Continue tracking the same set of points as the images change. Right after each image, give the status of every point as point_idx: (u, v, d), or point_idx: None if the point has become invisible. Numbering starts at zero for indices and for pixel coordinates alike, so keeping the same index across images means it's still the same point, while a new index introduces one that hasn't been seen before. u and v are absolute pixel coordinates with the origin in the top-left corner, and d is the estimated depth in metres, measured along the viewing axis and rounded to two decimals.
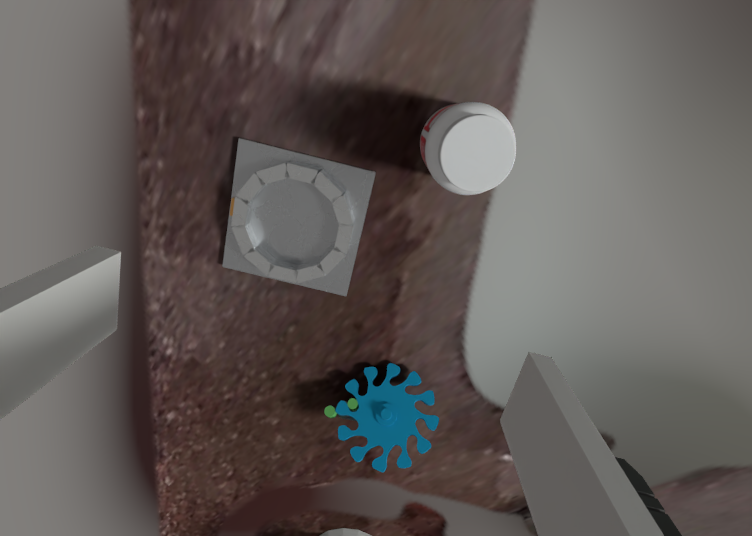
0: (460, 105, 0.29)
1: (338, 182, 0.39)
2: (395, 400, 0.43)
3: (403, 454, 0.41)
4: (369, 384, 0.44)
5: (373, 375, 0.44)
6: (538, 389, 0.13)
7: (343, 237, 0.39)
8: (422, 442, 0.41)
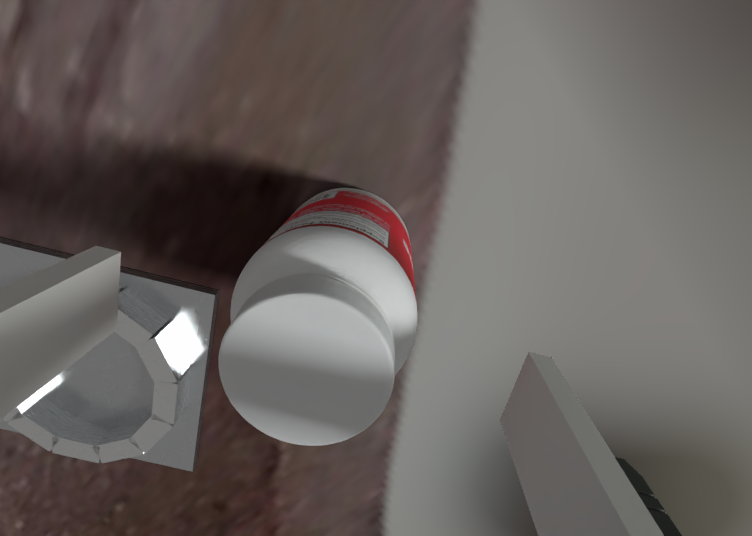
0: (290, 238, 0.13)
1: (155, 309, 0.23)
2: None
3: None
4: None
5: None
6: (539, 389, 0.13)
7: (164, 400, 0.23)
8: None
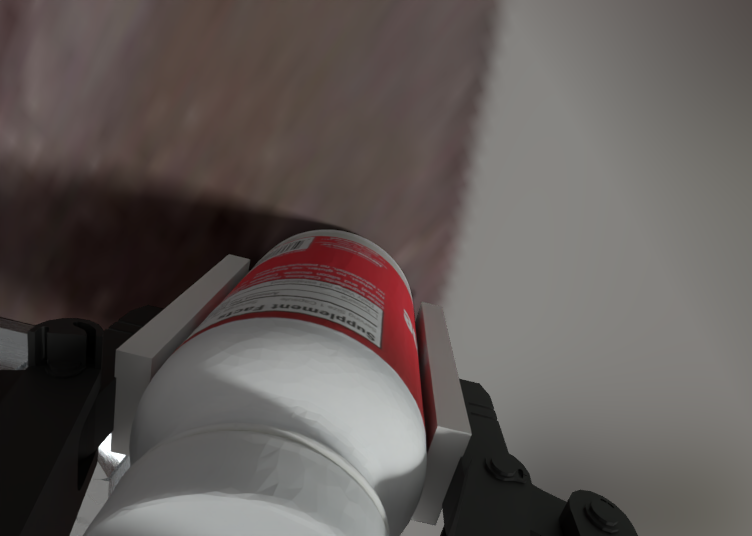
0: (217, 343, 0.08)
1: None
2: None
3: None
4: None
5: None
6: (420, 330, 0.14)
7: (92, 501, 0.18)
8: None
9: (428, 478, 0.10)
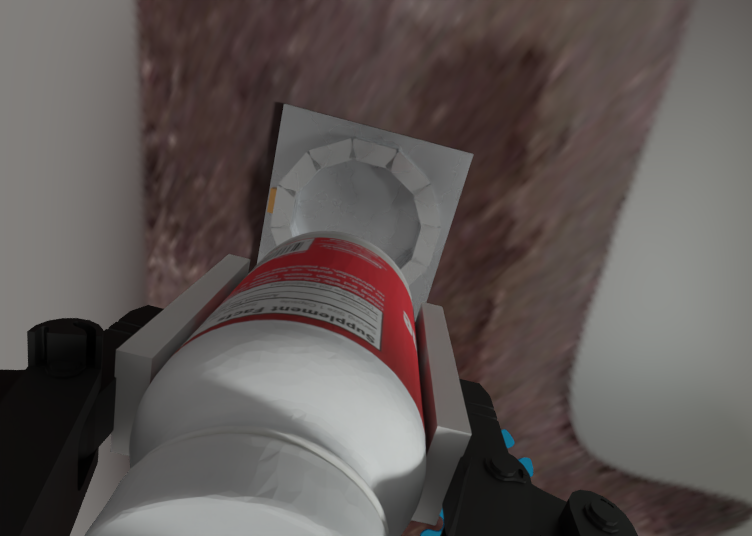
0: (217, 345, 0.08)
1: (420, 167, 0.28)
2: None
3: None
4: None
5: None
6: (420, 330, 0.14)
7: (426, 244, 0.28)
8: None
9: (428, 478, 0.10)
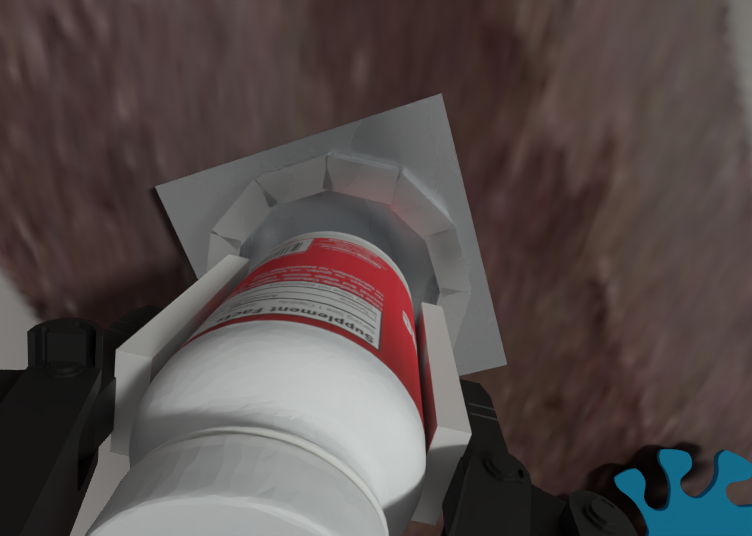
0: (216, 346, 0.08)
1: (378, 159, 0.17)
2: (723, 529, 0.20)
3: None
4: (644, 510, 0.21)
5: (641, 488, 0.21)
6: (420, 330, 0.14)
7: (447, 261, 0.17)
8: None
9: (428, 478, 0.10)
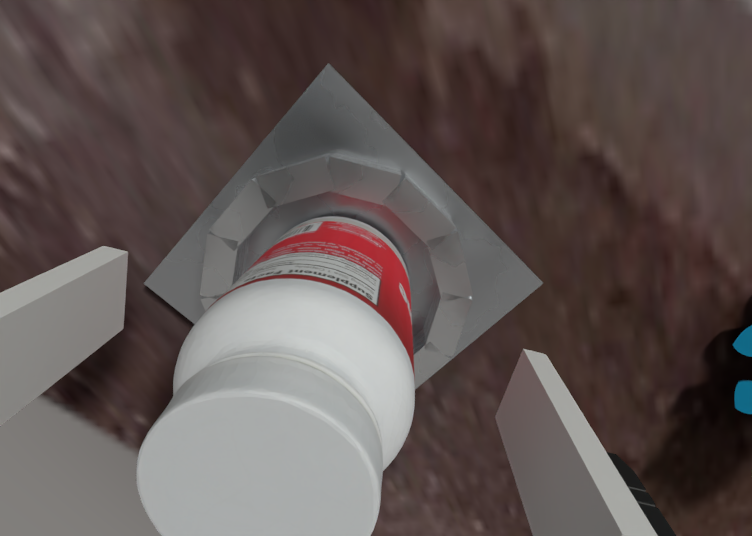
0: (246, 296, 0.10)
1: (308, 156, 0.17)
2: None
3: None
4: None
5: None
6: (532, 386, 0.13)
7: (417, 213, 0.16)
8: None
9: None
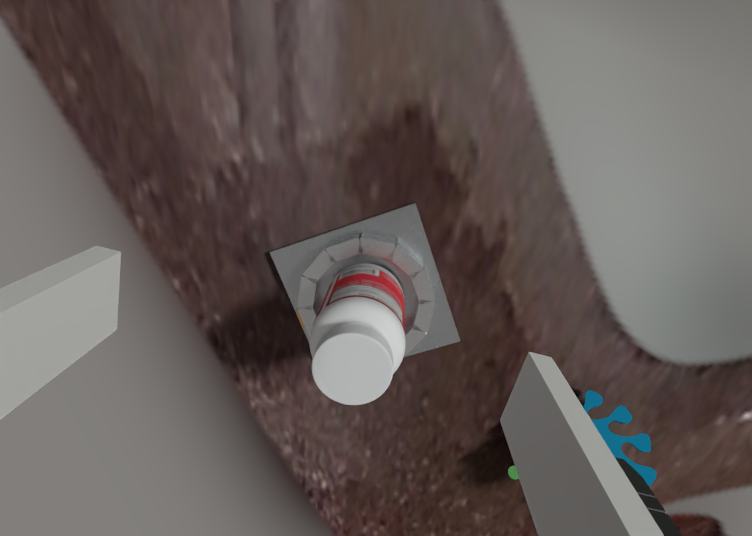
0: (364, 303, 0.27)
1: (385, 235, 0.34)
2: None
3: None
4: None
5: None
6: (538, 389, 0.13)
7: (422, 286, 0.33)
8: (643, 471, 0.33)
9: None
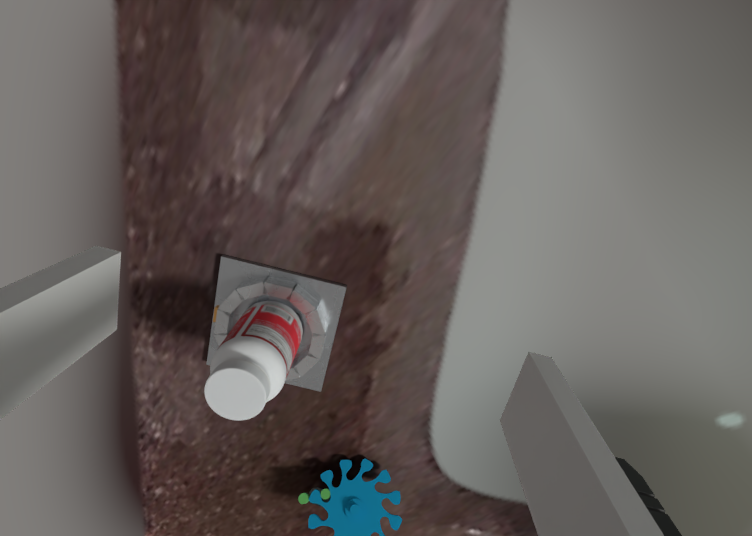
0: (269, 350, 0.35)
1: (312, 295, 0.42)
2: (365, 496, 0.47)
3: None
4: (343, 477, 0.48)
5: (348, 468, 0.48)
6: (538, 389, 0.13)
7: (316, 345, 0.42)
8: None
9: None
